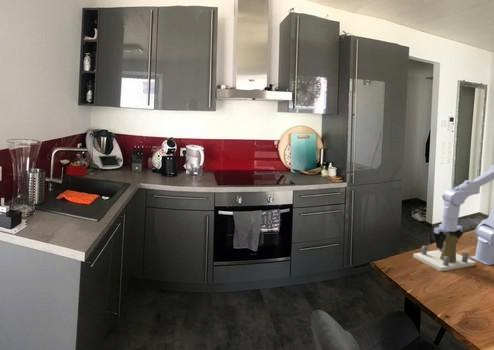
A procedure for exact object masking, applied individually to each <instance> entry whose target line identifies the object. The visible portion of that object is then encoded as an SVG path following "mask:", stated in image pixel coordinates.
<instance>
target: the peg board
mask: <svg viewBox="0 0 494 350" xmlns="http://www.w3.org/2000/svg"><path fill="white" fill-rule="evenodd" d="M444 244H445V242H444V243H443V247H444ZM443 247H442V249H436V250H430V251H429V250H428V246H427V245H422V247H421V252H416V253H413V255H412V257H413V258H414V259H416V260H418V261H420V262H423V263H424V264H425V265H428V266H430V267H431V268H433V269H435V270H437V271H439V272H444V271H449V270H454V269H455V270H456V269H460V268H466V267H472V266H475V265H476V261H474V260H472V259H471V258H469V253H467V252H463V253H462V255H461V254H458V253H457V252H456V262H455V263H449V260H450V257H448V256H444V261H443V260H441V259H440V256H441V253H442V250H443Z"/></svg>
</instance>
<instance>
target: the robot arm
mask: <svg viewBox="0 0 494 350" xmlns="http://www.w3.org/2000/svg"><path fill="white" fill-rule="evenodd" d="M492 181H494V164H491V165H490V167H489V169H487V170H486V171H485V172H483V173H482V174H481V175H479V176H478V177H476V178H474V179H473V180H472V179H468V180H466V179H465V180H464V181H463V183H461V184H459V185H457V186H455V187H454V188H453V189H452V188H451V189H450V188H449V189H447V190H445V192H444V193H443V194H442V195H441V197H442V201H443V204H444V205H443V206H444V207H443V211H442V212H443V213H442V219H441V223H440V224H439V225H438V226H436V227H434V228H433V231H432V235H433V237H434V240H435V246H436V248H437V249H438V250H440V249H442V247H443V243H444V244H445V241H444V240H445V238H446V237H447V235H453V236H456V237H457V238H458V240H460V238H461V237H462V236H463V234H464V232H463V225H459V224H458V223H459V222H458V221H459V217H460V216H459V215H460V212H461V211H460V210H461V205H463V204H464V203H465V201H466V200H467V199H468V198H469V197H471V196H472V195H474V194H476V193H478V192H479V190H480V187H482V186H484V185H486V184H488V183H490V182H492ZM474 232H475V235H476V239H477V244H476V250H475V255H471V256H469V259H471V260H472V259H473V260H475V261H477V262H479V263H481V264H484V265H485V266H490V265H491V266H492V265H494V205H493V206H492V208H491V210H490V213H489V215H488V217H487V218H486V219H483V220H481V221H480V223H479V224H478V225H477V226H476V227H475V230H474ZM445 233H448V234H445Z"/></svg>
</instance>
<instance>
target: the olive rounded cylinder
mask: <svg viewBox="0 0 494 350" xmlns="http://www.w3.org/2000/svg"><path fill="white" fill-rule="evenodd" d="M446 235H447V237H446V238H445V240H444V247H443V250H442V253H441V256H440V259H441V260H443V261H444V256H448V257H450V260H449V263H455V262H456V253H457V244H458V243H459V239H458V238H457V237H456V236H453V235H449V234H446Z"/></svg>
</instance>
